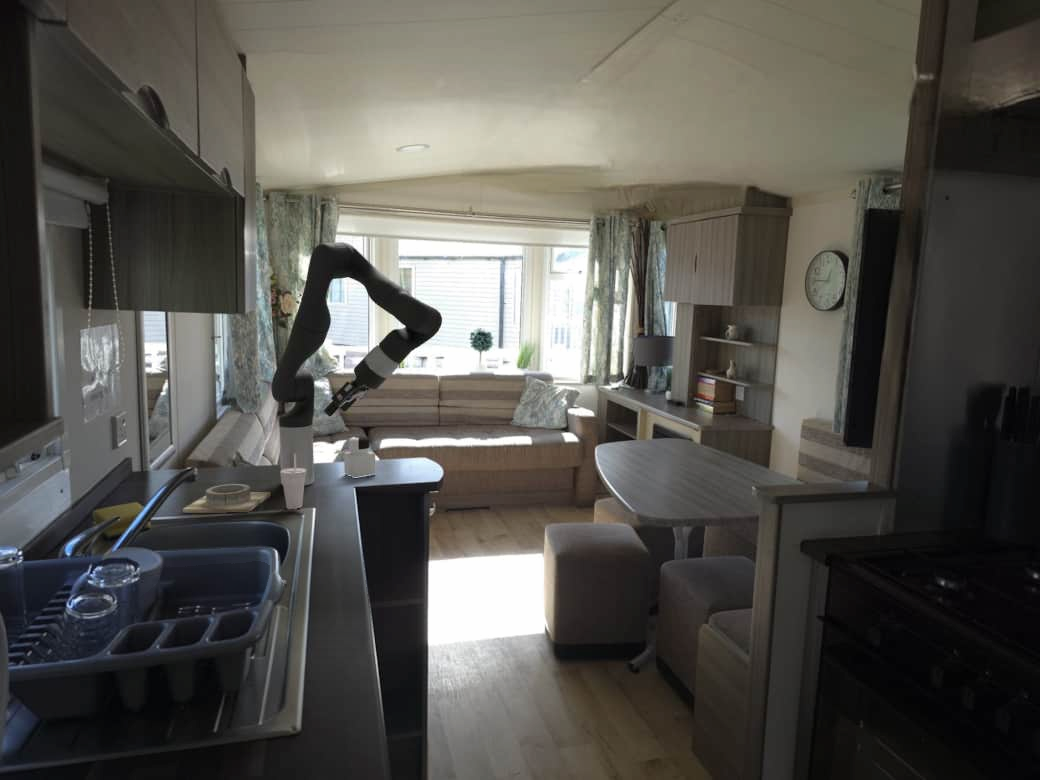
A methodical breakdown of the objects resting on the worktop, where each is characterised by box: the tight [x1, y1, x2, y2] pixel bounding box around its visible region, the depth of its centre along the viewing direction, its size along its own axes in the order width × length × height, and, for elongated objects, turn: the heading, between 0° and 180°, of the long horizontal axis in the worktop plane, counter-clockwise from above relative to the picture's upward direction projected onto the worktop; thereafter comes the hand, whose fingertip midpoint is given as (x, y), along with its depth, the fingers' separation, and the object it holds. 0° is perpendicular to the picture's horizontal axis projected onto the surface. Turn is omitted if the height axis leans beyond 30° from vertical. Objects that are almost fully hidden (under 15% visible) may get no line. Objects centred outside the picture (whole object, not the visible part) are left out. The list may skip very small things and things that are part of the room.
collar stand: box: [182, 483, 272, 514], centre depth 174 cm, size 16×16×4 cm
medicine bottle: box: [343, 435, 376, 477], centre depth 206 cm, size 7×7×12 cm
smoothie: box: [279, 454, 306, 510], centre depth 171 cm, size 6×6×14 cm
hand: (334, 411), depth 167 cm, fingers open, 8 cm apart
